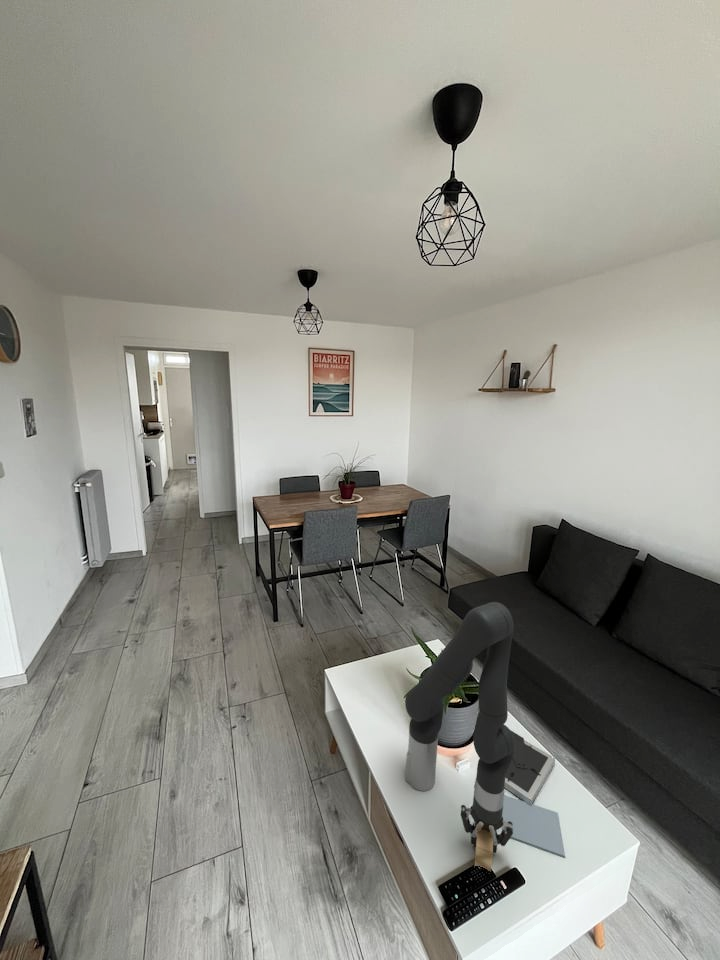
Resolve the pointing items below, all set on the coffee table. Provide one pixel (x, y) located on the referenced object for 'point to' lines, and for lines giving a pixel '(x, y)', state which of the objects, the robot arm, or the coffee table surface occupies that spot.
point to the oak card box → (484, 850)
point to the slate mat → (534, 825)
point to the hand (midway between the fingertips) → (483, 847)
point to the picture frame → (527, 770)
